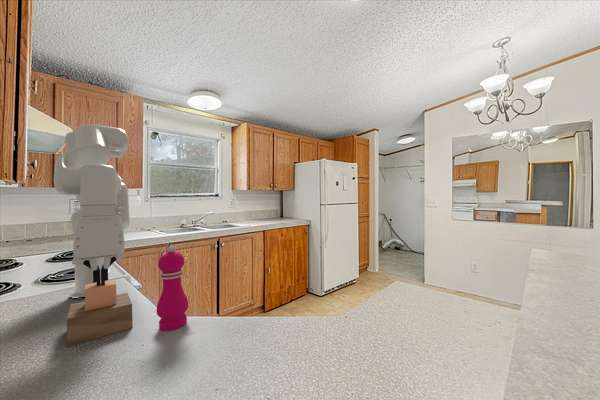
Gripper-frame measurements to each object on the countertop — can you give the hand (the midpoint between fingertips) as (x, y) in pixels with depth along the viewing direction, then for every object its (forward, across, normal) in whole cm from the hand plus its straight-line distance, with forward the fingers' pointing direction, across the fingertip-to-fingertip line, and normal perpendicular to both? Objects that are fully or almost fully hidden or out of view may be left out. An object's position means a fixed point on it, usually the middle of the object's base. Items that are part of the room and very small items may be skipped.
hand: (100, 284), depth 63 cm
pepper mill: (+11, -14, +12) cm, 21 cm away
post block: (+11, 0, 0) cm, 11 cm away
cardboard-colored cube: (+5, 0, 0) cm, 5 cm away
